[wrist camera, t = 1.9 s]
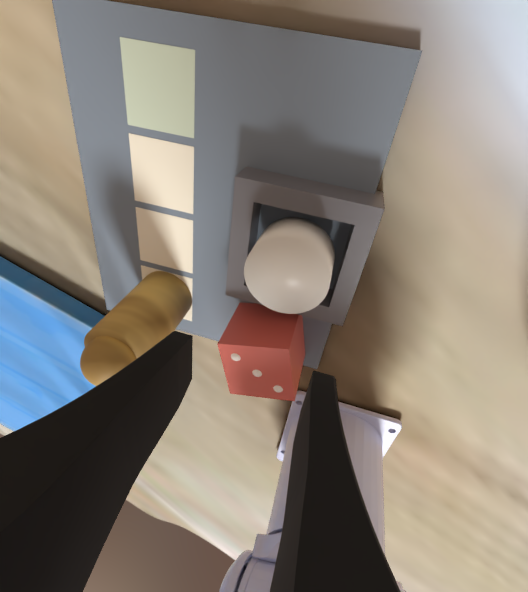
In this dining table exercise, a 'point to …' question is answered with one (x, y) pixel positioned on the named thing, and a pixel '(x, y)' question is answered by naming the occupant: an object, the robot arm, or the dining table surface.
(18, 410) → the file sorter
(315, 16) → the dining table surface
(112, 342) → the tan rounded peg
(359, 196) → the dome housing
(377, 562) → the robot arm
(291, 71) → the board
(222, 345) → the die
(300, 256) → the dome
